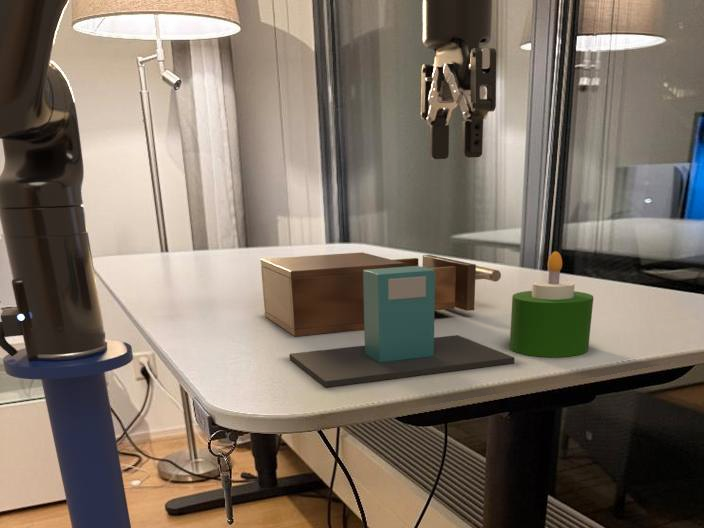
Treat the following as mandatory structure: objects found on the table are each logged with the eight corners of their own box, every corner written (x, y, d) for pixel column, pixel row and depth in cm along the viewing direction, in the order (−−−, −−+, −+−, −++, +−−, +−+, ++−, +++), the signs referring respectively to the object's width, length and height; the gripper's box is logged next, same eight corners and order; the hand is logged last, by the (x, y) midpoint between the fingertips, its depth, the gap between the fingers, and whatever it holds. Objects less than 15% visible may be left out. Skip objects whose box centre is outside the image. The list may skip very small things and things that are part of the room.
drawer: (463, 292, 108) (465, 252, 106) (512, 306, 97) (514, 261, 94) (343, 303, 102) (341, 260, 100) (379, 319, 90) (378, 271, 88)
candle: (605, 350, 76) (616, 252, 72) (541, 360, 73) (548, 258, 69) (554, 336, 83) (562, 245, 79) (494, 344, 80) (499, 250, 76)
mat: (325, 387, 66) (325, 381, 66) (289, 359, 76) (289, 353, 76) (514, 363, 72) (514, 357, 72) (457, 340, 83) (457, 334, 83)
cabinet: (363, 307, 104) (362, 252, 101) (405, 325, 91) (405, 262, 88) (264, 316, 99) (260, 259, 96) (294, 336, 87) (290, 271, 84)
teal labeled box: (379, 363, 71) (378, 274, 68) (364, 354, 75) (362, 269, 72) (434, 356, 73) (435, 270, 70) (417, 348, 77) (417, 265, 73)
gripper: (400, 8, 84) (402, 160, 90) (456, -22, 71) (453, 157, 78) (458, 10, 86) (456, 159, 92) (522, -19, 74) (514, 155, 80)
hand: (455, 158), depth 85 cm, fingers open, 8 cm apart
